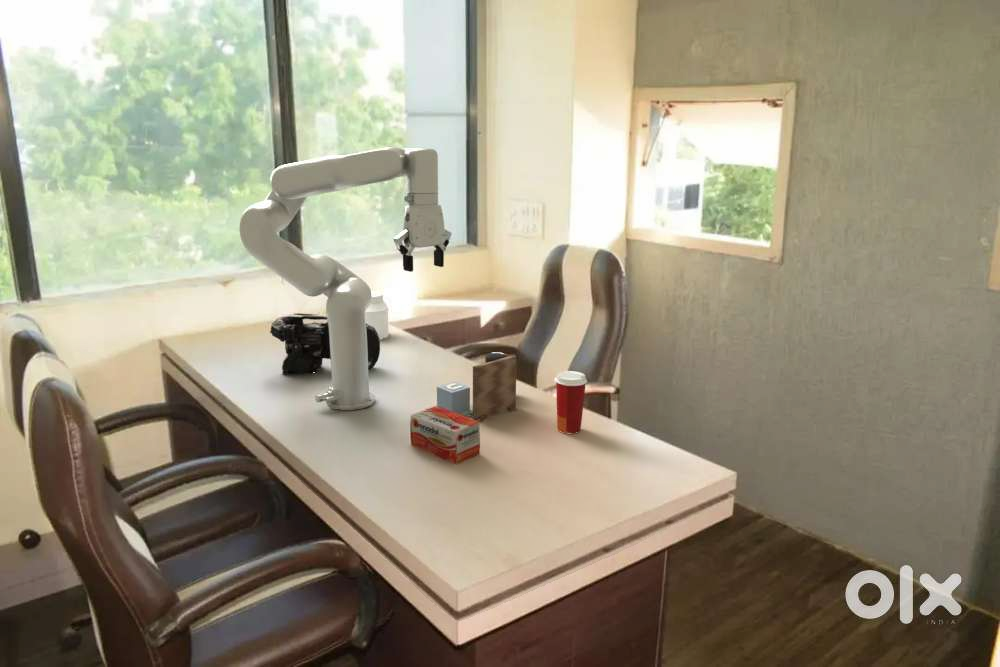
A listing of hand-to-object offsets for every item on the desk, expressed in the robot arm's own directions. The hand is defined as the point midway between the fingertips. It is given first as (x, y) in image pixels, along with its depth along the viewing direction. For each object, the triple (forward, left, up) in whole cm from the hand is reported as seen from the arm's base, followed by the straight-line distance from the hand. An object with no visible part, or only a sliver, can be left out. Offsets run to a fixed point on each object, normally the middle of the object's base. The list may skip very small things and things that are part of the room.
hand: (423, 268), depth 193 cm
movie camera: (-5, +42, -37) cm, 56 cm away
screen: (+9, -17, -36) cm, 41 cm away
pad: (+2, -9, -36) cm, 37 cm away
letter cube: (+2, -9, -36) cm, 37 cm away
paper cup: (+15, -37, -36) cm, 54 cm away
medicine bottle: (+18, -8, -36) cm, 41 cm away
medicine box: (-15, -26, -37) cm, 47 cm away
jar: (+27, +64, -36) cm, 78 cm away
